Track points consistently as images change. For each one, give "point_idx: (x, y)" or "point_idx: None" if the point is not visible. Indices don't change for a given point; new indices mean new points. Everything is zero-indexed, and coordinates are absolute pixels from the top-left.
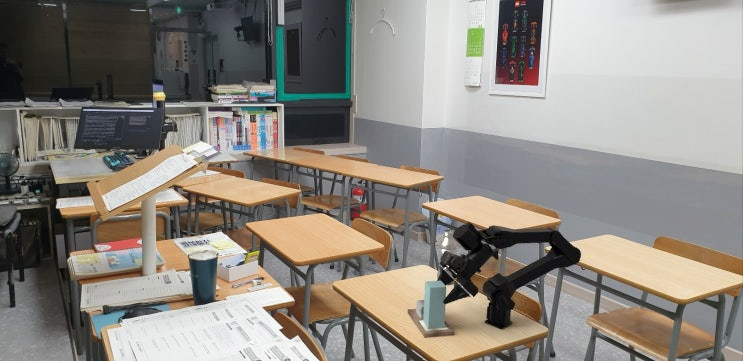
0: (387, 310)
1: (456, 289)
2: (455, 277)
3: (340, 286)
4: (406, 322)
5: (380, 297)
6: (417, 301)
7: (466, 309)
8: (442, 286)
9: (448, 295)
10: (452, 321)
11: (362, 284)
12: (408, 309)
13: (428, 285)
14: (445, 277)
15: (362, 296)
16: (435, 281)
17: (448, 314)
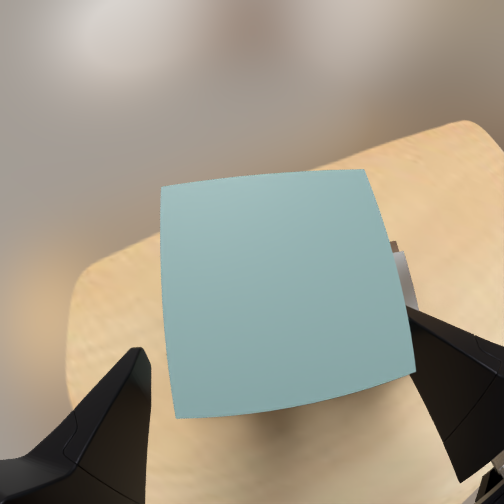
0: (392, 185)
1: (22, 462)
2: (481, 488)
3: (468, 122)
4: None
5: (460, 186)
6: (393, 253)
7: (415, 466)
8: (188, 363)
9: (100, 394)
10: (324, 420)
11: (495, 165)
12: (395, 243)
13: (236, 177)
14: (485, 417)
15: (448, 146)
16: (384, 292)
17: (385, 407)
